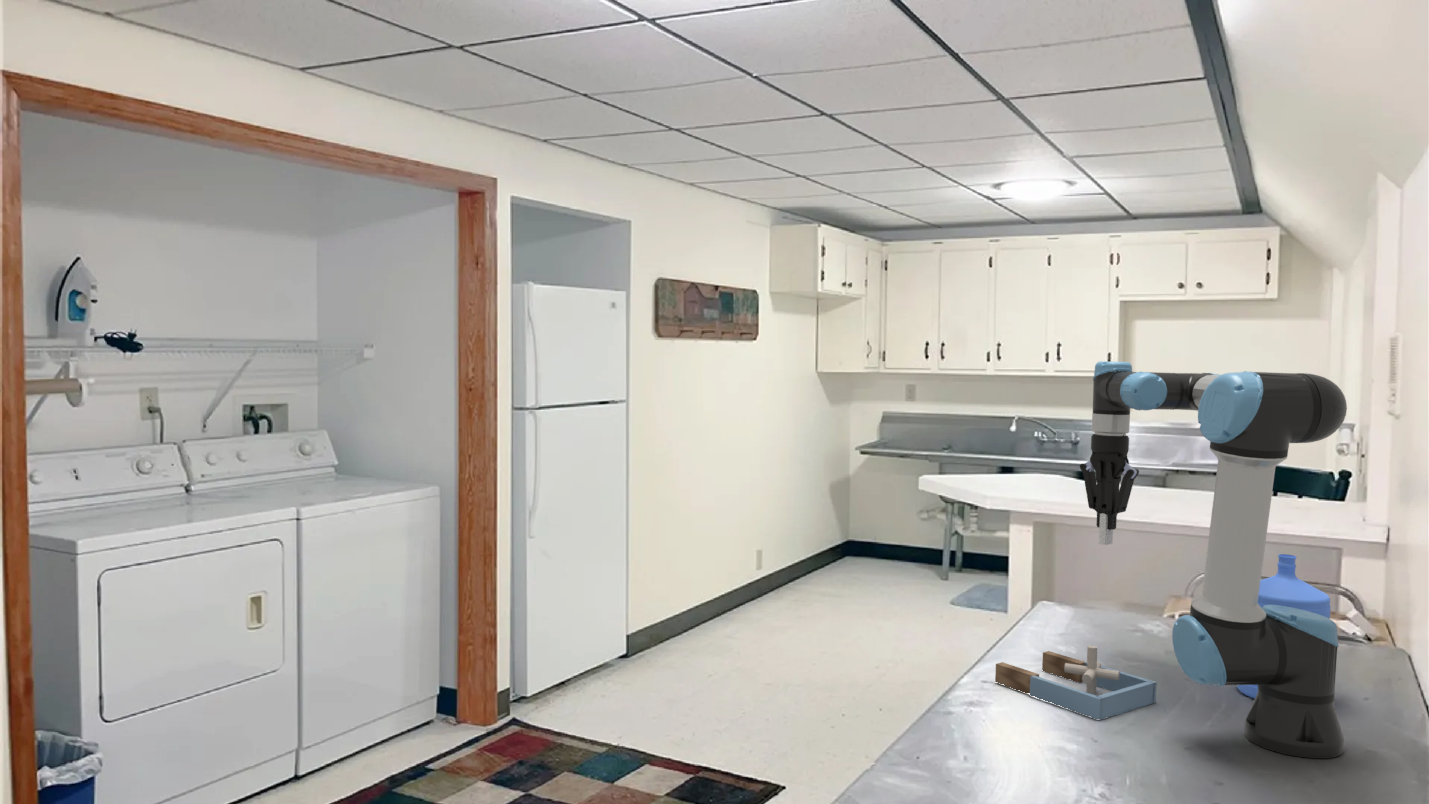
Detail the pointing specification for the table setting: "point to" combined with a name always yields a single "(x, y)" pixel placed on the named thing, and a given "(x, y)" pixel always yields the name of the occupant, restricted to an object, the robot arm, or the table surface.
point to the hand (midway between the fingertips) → (1105, 543)
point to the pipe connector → (1092, 670)
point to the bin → (1123, 698)
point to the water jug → (1289, 598)
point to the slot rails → (1021, 677)
